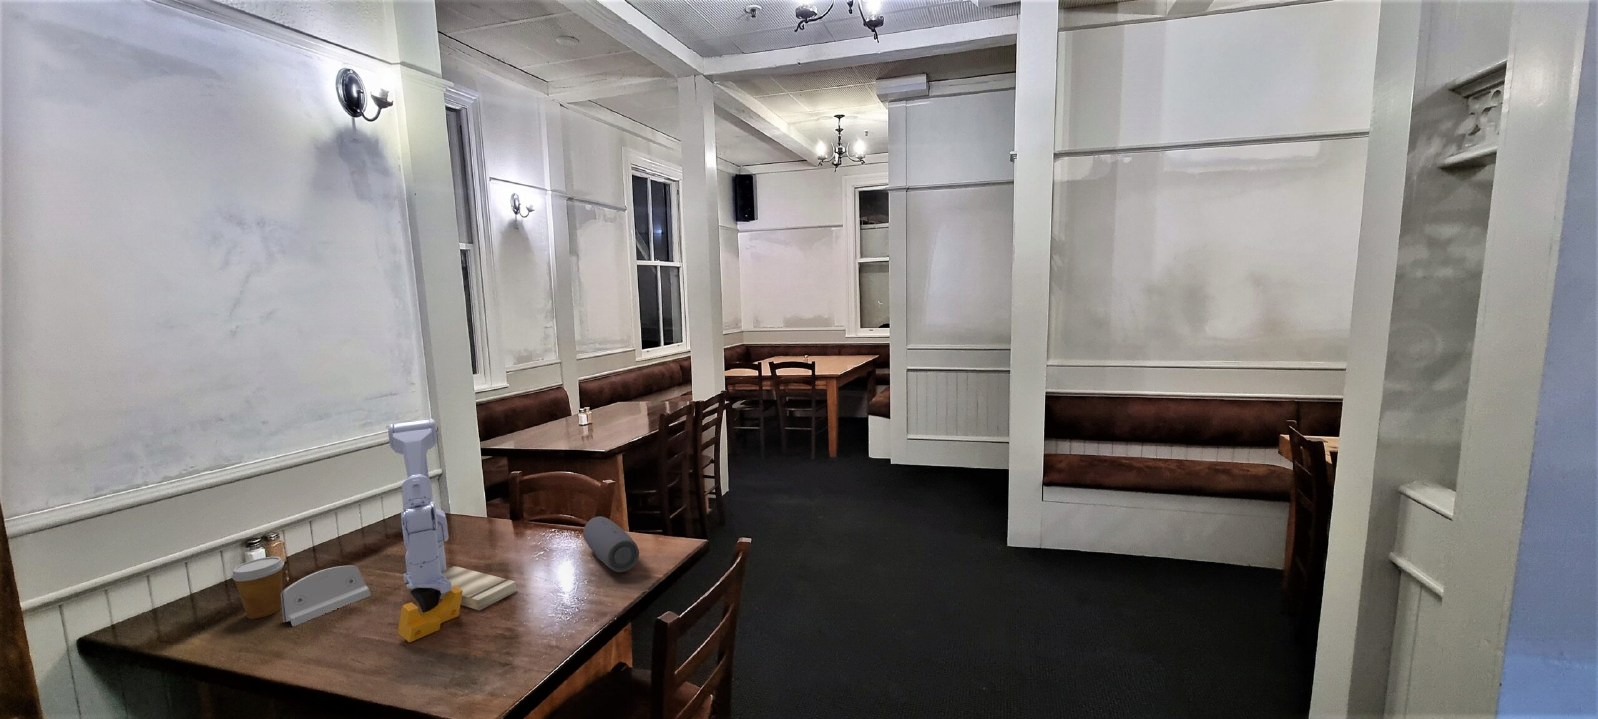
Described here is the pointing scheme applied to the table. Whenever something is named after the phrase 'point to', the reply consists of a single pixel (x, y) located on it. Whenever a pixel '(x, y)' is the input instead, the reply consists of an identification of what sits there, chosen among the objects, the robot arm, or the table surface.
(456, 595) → the pipe clamp
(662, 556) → the table surface
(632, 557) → the bluetooth speaker
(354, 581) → the gray arched bracket
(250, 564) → the disposable coffee cup
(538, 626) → the table surface
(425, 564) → the robot arm
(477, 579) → the maple board
